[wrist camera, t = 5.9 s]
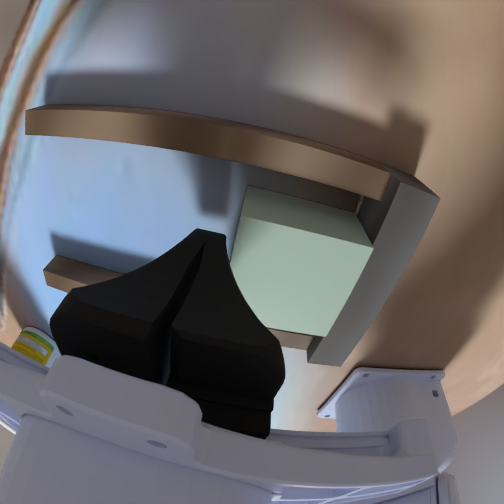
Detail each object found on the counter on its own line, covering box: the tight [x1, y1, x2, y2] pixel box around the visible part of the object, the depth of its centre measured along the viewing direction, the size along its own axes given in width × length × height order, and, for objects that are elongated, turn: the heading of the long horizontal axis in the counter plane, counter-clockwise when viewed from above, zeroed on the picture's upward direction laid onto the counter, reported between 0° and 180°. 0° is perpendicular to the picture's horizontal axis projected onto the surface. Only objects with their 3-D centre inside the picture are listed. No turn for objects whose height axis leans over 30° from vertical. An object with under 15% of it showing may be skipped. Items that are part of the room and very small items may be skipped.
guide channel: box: [25, 104, 440, 367], centre depth 13 cm, size 18×10×2 cm, turn 77°
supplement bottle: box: [0, 327, 61, 435], centre depth 17 cm, size 5×5×10 cm
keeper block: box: [230, 186, 374, 337], centre depth 13 cm, size 5×5×3 cm
